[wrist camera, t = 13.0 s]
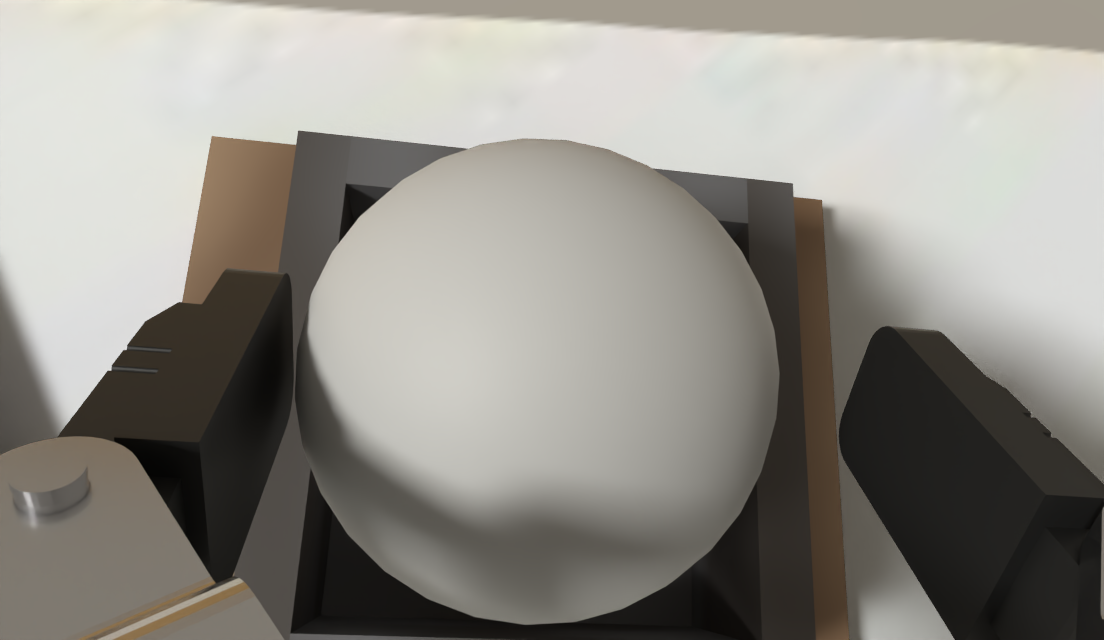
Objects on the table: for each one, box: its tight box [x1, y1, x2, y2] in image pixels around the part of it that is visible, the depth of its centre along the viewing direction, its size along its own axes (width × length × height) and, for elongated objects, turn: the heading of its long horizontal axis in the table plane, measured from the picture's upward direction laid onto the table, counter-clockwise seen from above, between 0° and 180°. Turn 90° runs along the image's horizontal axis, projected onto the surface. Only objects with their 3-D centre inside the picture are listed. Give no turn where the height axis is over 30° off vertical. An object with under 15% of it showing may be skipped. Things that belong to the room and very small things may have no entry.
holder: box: [182, 131, 849, 640], centre depth 17 cm, size 16×14×6 cm
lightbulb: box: [295, 139, 780, 625], centre depth 13 cm, size 6×6×11 cm
